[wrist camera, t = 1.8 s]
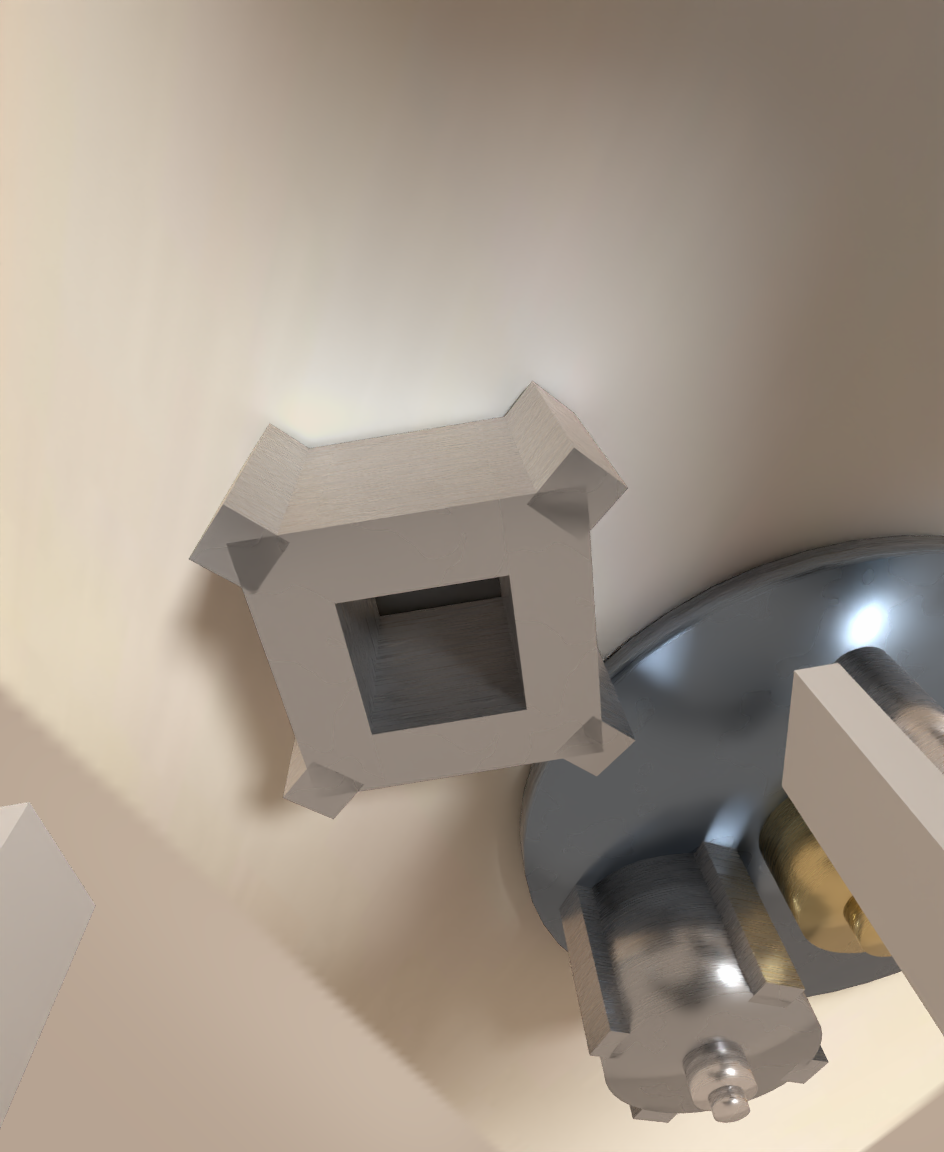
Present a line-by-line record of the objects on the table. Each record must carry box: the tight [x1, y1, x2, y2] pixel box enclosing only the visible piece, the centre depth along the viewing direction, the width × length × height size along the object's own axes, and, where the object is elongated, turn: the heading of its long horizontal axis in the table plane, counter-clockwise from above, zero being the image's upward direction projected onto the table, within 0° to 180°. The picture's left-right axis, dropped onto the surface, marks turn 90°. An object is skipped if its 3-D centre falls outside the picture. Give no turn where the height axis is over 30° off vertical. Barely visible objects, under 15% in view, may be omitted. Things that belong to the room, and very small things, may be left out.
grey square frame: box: [189, 381, 636, 819], centre depth 17 cm, size 9×9×5 cm
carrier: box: [520, 535, 944, 1123], centre depth 22 cm, size 22×22×8 cm
